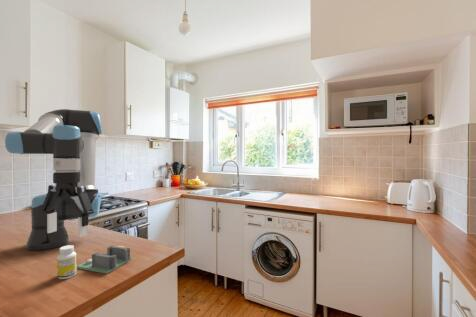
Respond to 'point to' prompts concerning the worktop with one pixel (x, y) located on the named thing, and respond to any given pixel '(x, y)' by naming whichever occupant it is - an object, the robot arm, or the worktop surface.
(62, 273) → the supplement bottle
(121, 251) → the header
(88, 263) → the board
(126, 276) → the worktop surface
